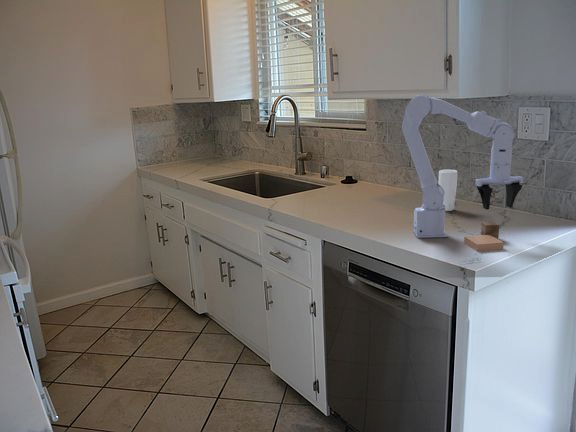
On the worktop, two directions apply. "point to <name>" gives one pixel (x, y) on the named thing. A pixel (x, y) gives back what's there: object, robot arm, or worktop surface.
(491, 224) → the walnut block
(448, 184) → the drinking glass
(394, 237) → the worktop surface
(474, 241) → the terracotta tile
